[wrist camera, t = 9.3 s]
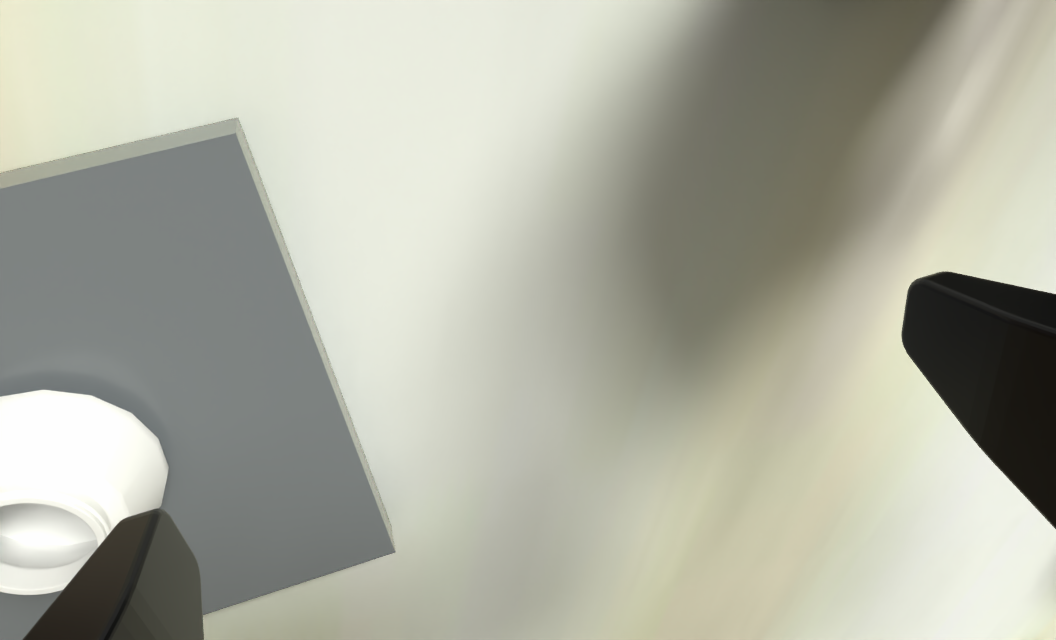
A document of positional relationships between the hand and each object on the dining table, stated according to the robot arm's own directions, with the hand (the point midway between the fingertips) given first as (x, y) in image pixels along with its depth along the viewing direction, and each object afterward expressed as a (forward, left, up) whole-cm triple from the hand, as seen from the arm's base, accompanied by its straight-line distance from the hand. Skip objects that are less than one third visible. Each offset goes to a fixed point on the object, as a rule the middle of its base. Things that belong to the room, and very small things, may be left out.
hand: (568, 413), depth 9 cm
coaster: (+11, +6, -12) cm, 17 cm away
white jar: (+11, +6, -11) cm, 17 cm away
